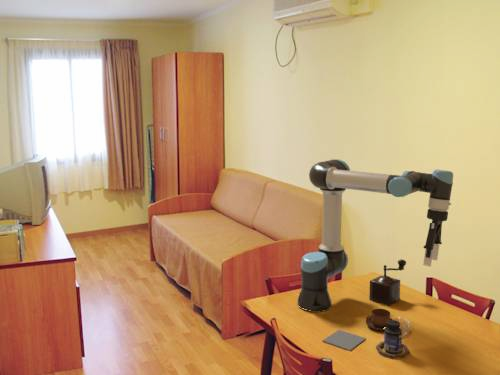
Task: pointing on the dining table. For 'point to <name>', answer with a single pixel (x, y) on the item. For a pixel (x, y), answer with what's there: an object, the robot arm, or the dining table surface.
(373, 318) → the cup and saucer
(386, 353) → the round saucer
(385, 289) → the manual coffee grinder
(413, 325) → the dining table surface
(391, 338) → the pill bottle
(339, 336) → the mat
